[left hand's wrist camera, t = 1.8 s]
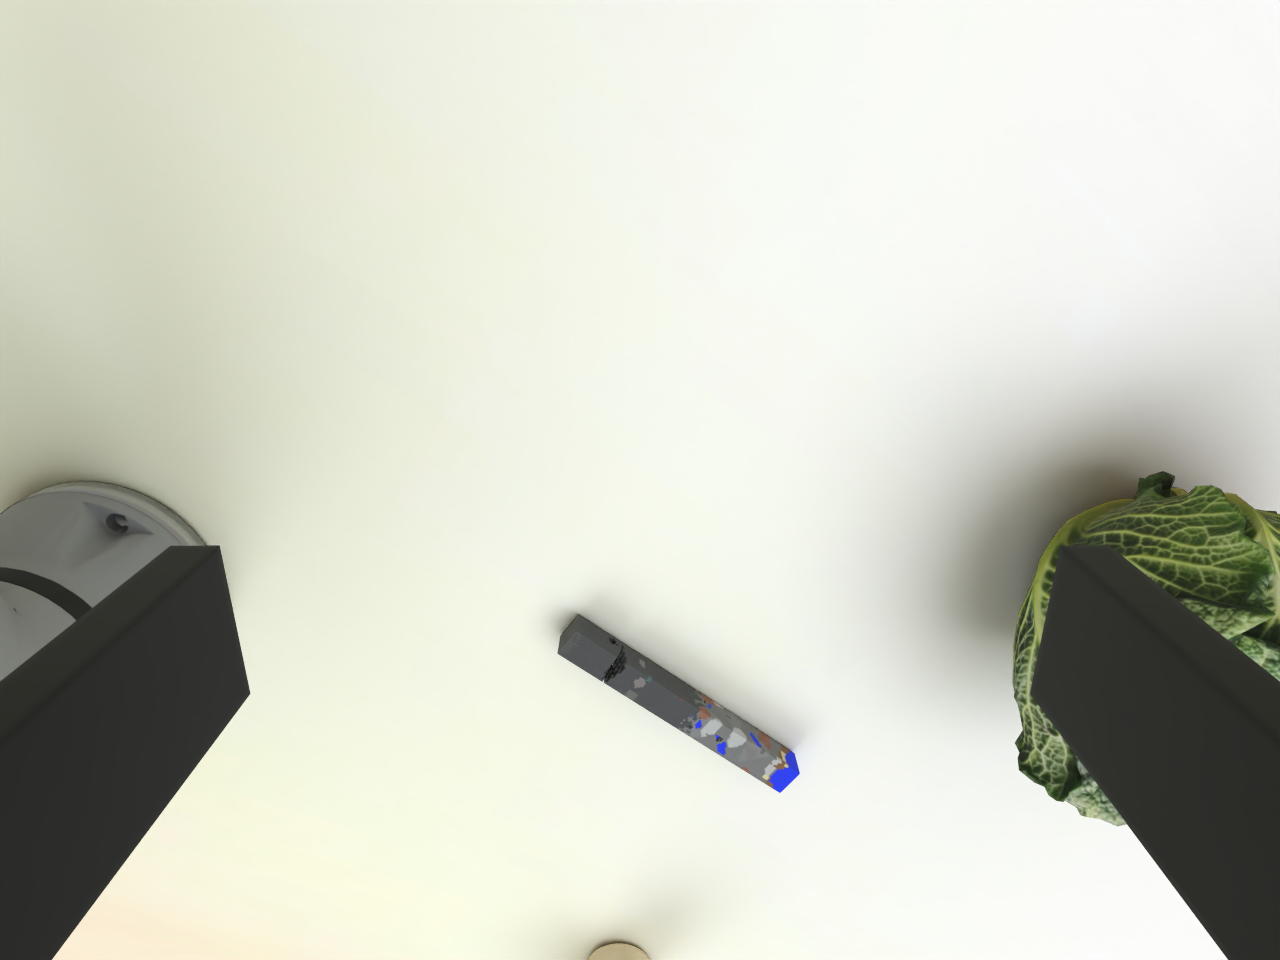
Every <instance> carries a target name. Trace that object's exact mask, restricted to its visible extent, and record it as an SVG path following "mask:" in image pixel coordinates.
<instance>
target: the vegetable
mask: <svg viewBox="0 0 1280 960" xmlns="http://www.w3.org/2000/svg"><path fill="white" fill-rule="evenodd" d="M1174 479H1175V476H1173V475H1171V474H1169V473H1166V472H1163V471H1162V472H1159V473H1156V474H1153V475H1149V476H1148V477H1147V478H1146V479H1143V478H1139V483H1138V492H1137V494H1136V496H1135V499H1119V500H1114V501H1108V502H1105V503H1103V504H1100V505H1098V506H1095V507H1093V508H1090V509H1088V510H1085V511H1083V512H1081V513H1080V514H1078V515H1076V516H1074V517H1073V518H1071V519H1069V520H1068V521H1067V522H1066V523H1065V524H1064V525H1063V526H1062V527H1061V528H1060V529H1059V531H1058V532H1057V533H1056V535H1055V536H1054V537H1053V539H1052V540H1051V541H1050V543H1049V544H1048V546H1047V548H1046V549H1045V551H1044V553H1043V555H1042V556H1041V558H1040V560H1039V564H1038V568H1037V572H1036V574H1035V577H1034V580H1033V582H1032V585H1031V586H1030V588H1029V590H1028V592H1027V596H1026V598H1025V600H1024V603H1023V605H1022V607H1021V609H1020V611H1019V614H1018V621H1017V627H1016V633H1015V639H1014V646H1013V681H1012V683H1013V687H1014V691H1015V693H1014V698H1015V700H1016V702H1017V704H1018V707H1019V712H1020V717H1021V722H1022V727H1023V731H1022V732H1021V734H1020V735H1019V737H1018V739H1017V740H1016V742H1015V744H1016V746H1017V748H1018V750H1019V752H1020V753H1019V756H1018V765H1019V770H1020V771H1021V772H1022V773H1023V774H1025V775H1026V776H1027V777H1028V778H1030V779H1031V780H1032V781H1033V782H1035V783H1037V784H1039V785H1042V786H1044V787H1045V789H1046V791H1047V793H1048V795H1049V796H1050V797H1052V798H1053V799H1055V800H1056V801H1062V802H1064V801H1067V802H1068V803H1070V804H1072V805H1073V806H1075V807H1076V808H1077V809H1078V811H1079V813H1080V815H1082V816H1085V817H1091V818H1097V819H1102V820H1104V821H1106V822H1108V823H1111V824H1113V825H1116V826H1121V825H1125V824H1127V823H1126V822H1125V821H1124V819H1123V818H1122V817H1121V815H1120V814H1119V813H1118V811H1117V810H1116V809H1115V807H1114V806H1113V805H1112V803H1111V802H1110V801H1109V799H1108V798H1107V797H1106V795H1105V794H1104V793H1103V791H1102V790H1101V789H1100V787H1099V786H1098V784H1097V783H1096V782H1095V780H1094V779H1093V778H1092V776H1091V775H1090V774H1089V772H1088V771H1087V770H1086V768H1085V767H1084V766H1083V764H1082V763H1081V762H1080V760H1079V759H1078V758H1077V756H1076V755H1075V754H1074V752H1073V751H1072V750H1071V748H1070V747H1069V746H1068V744H1067V743H1066V742H1065V740H1064V739H1063V738H1062V736H1061V735H1060V734H1059V732H1058V731H1057V730H1056V728H1055V727H1054V726H1053V724H1052V723H1051V722H1050V720H1049V719H1048V717H1047V716H1046V715H1045V713H1044V712H1043V711H1042V709H1041V708H1040V707H1039V705H1038V704H1037V703H1036V701H1035V700H1034V699H1033V697H1032V696H1031V695H1030V690H1031V685H1032V680H1033V676H1034V671H1035V666H1036V661H1037V656H1038V652H1039V647H1040V642H1041V637H1042V632H1043V627H1044V623H1045V618H1046V613H1047V608H1048V603H1049V599H1050V594H1051V589H1052V584H1053V579H1054V574H1055V570H1056V565H1057V560H1058V555H1059V550H1060V546H1111V547H1112V548H1113V549H1114V550H1116V551H1117V552H1118V553H1119V554H1121V555H1122V556H1123V557H1124V558H1126V559H1127V560H1128V561H1129V562H1131V563H1132V564H1133V565H1134V566H1136V567H1137V568H1138V569H1139V570H1141V571H1142V572H1143V573H1144V574H1146V575H1147V576H1148V577H1150V578H1151V579H1152V580H1153V581H1155V582H1156V583H1157V584H1158V585H1160V586H1161V587H1162V588H1163V589H1165V590H1166V591H1167V592H1168V593H1170V594H1171V595H1172V596H1173V597H1175V598H1176V599H1177V600H1178V601H1180V602H1181V603H1182V604H1183V605H1185V606H1186V607H1187V608H1188V609H1190V610H1191V611H1192V612H1193V613H1195V614H1196V615H1197V616H1198V617H1200V618H1201V619H1202V620H1203V621H1205V622H1206V623H1207V624H1208V625H1210V626H1211V627H1212V628H1213V629H1215V630H1216V631H1217V632H1219V633H1220V634H1221V635H1222V636H1224V637H1225V638H1226V639H1227V640H1229V641H1230V642H1231V643H1232V644H1234V645H1235V646H1236V647H1237V648H1239V649H1240V650H1241V651H1242V652H1244V653H1245V654H1246V655H1247V656H1249V657H1250V658H1251V659H1252V660H1254V661H1255V662H1256V663H1257V664H1259V665H1260V666H1261V667H1262V668H1264V669H1265V670H1266V671H1267V672H1269V673H1270V674H1271V675H1272V676H1274V677H1275V678H1276V679H1277V680H1279V681H1280V514H1277V512H1276V511H1263V510H1257V509H1254V508H1253V507H1251V506H1250V505H1249V504H1248V503H1246V502H1245V501H1244V500H1242V499H1241V498H1240V497H1238V496H1237V495H1236V494H1231V493H1223V492H1222V490H1221V489H1219V488H1216V487H1214V486H1211V485H1209V486H1195V487H1194V488H1193V489H1192V490H1191V491H1190V492H1189V493H1187V492H1186V491H1184V490H1183V489H1180V488H1176V487H1172V485H1173V482H1174Z"/></svg>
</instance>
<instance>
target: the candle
mask: <svg viewBox="0 0 1280 960" xmlns="http://www.w3.org/2000/svg"><path fill="white" fill-rule="evenodd" d="M588 960H649V958H648V956H647V955H646V954H645V953H644V952H643V951H642V950H640V949H639V948H637V947H635V946H632V945H628V944H622V943H616V944H609V945H605V946H603V947H600V948H598V949H597V950H596V951H594V952H593V953H592V954H591V956H590V957H589V959H588Z"/></svg>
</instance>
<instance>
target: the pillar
mask: <svg viewBox="0 0 1280 960" xmlns="http://www.w3.org/2000/svg"><path fill="white" fill-rule="evenodd" d="M558 654H559V655H561V656H562V657H564V658H565V659H567V660H569V661H570V662H572V663H573V664H575V665H577V666H578V667H580V668H581V669H583V670H585V671H586V672H588V673H589V674H591V675H593V676H594V677H596V678H597V679H599V680H601V681H603V680H604V683H605V684H607V685H609V686H610V687H612V688H613V689H615V690H617V691H618V692H620V693H621V694H623V695H625V696H626V697H628V698H629V699H631V700H632V701H634V702H636V703H637V704H639V705H640V706H642V707H644V708H645V709H647V710H648V711H650V712H652V713H653V714H655V715H656V716H658V717H660V718H661V719H663V720H664V721H666V722H668V723H669V724H671V725H672V726H674V727H676V728H677V729H679V730H680V731H682V732H684V733H685V734H687V735H688V736H690V737H692V738H693V739H695V740H696V741H698V742H700V743H701V744H703V745H704V746H706V747H708V748H709V749H711V750H712V751H714V752H716V753H717V754H719V755H720V756H722V757H724V758H725V759H727V760H728V761H730V762H731V763H733V764H735V765H736V766H738V767H739V768H741V769H743V770H744V771H746V772H747V773H749V774H751V775H752V776H754V777H755V778H757V779H759V780H760V781H762V782H763V783H765V784H767V785H768V786H770V787H771V788H773V789H775V790H776V791H778V792H779V793H780V792H782V791H783V790H784V789H785V788H786V787H787V786H788V785H789V784H790V783H791V782H792V781H793V780H794V779H795V778H796V777H797V776H798V775H799V774H800V773H799V769H798V765H797V761H796V758H795V754H794V753H793V752H792V751H790V750H788V749H787V748H785V747H784V746H782V745H781V744H779V743H778V742H776V741H774V740H773V739H771V738H770V737H768V736H767V735H765V734H764V733H762V732H760V731H759V730H757V729H756V728H754V727H753V726H751V725H750V724H748V723H746V722H745V721H743V720H742V719H740V718H739V717H737V716H736V715H734V714H732V713H731V712H729V711H728V710H726V709H725V708H723V707H722V706H720V705H719V704H717V703H715V702H714V701H712V700H711V699H709V698H708V697H706V696H705V695H703V694H701V693H700V692H698V691H697V690H695V689H694V688H692V687H691V686H689V685H687V684H686V683H684V682H683V681H681V680H680V679H678V678H677V677H675V676H673V675H672V674H670V673H669V672H667V671H666V670H664V669H663V668H661V667H659V666H658V665H656V664H655V663H653V662H652V661H650V660H649V659H647V658H645V657H644V656H642V655H641V654H639V653H638V652H636V651H635V650H633V649H631V648H630V647H628V646H627V645H625V644H624V643H622V642H621V641H619V640H617V639H616V638H614V637H613V636H611V635H610V634H608V633H607V632H605V631H603V630H602V629H600V628H599V627H597V626H596V625H594V624H593V623H591V622H589V621H588V620H586V619H585V618H583V617H582V616H580V615H579V614H578V616H577V617H576V618H575V619H574V620H573V622H572V623H571V624H570V625H569V626H568V628H567V629H566V630H565V631H564V633H563V634H562V635H561V636H560V642H559V648H558ZM613 662H614V665H613V666H612V663H613Z"/></svg>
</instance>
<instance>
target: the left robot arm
mask: <svg viewBox="0 0 1280 960" xmlns="http://www.w3.org/2000/svg"><path fill="white" fill-rule="evenodd" d="M249 695H250V690H249V685H248V680H247V676H246V671H245V666H244V661H243V656H242V652H241V647H240V642H239V637H238V632H237V627H236V623H235V618H234V613H233V608H232V603H231V599H230V594H229V589H228V584H227V579H226V574H225V570H224V565H223V560H222V555H221V550H220V546H206V545H205V544H204V543H203V541H202V540H201V539H200V537H199V536H198V535H197V534H196V533H195V532H194V530H193V529H192V528H191V527H190V526H189V525H188V524H187V523H186V522H184V521H183V520H182V519H181V518H180V517H179V516H177V515H176V514H175V513H173V512H172V511H171V510H169V509H168V508H166V507H165V506H163V505H162V504H160V503H158V502H157V501H155V500H153V499H151V498H149V497H147V496H145V495H143V494H140V493H138V492H135V491H133V490H130V489H127V488H124V487H120V486H116V485H112V484H106V483H100V482H87V481H85V482H69V483H62V484H58V485H53V486H50V487H47V488H44V489H42V490H40V491H38V492H36V493H34V494H32V495H30V496H28V497H26V498H24V499H22V500H20V501H18V502H17V503H15V504H13V505H12V506H10V507H9V508H7V509H6V510H5V511H3V512H2V513H1V514H0V960H52V959H53V957H54V956H55V955H56V953H57V952H58V951H59V949H60V948H61V947H62V945H63V944H64V943H65V941H66V940H67V939H68V937H69V936H70V935H71V933H72V932H73V931H74V929H75V928H76V927H77V925H78V924H79V923H80V921H81V920H82V918H83V917H84V916H85V914H86V913H87V912H88V910H89V909H90V908H91V906H92V905H93V904H94V902H95V901H96V900H97V898H98V897H99V896H100V894H101V893H102V892H103V890H104V889H105V888H106V886H107V885H108V884H109V882H110V881H111V880H112V878H113V877H114V876H115V874H116V873H117V872H118V870H119V869H120V868H121V866H122V865H123V864H124V862H125V861H126V860H127V858H128V857H129V856H130V854H131V853H132V851H133V850H134V849H135V847H136V846H137V845H138V843H139V842H140V841H141V839H142V838H143V837H144V835H145V834H146V833H147V831H148V830H149V829H150V827H151V826H152V825H153V823H154V822H155V821H156V819H157V818H158V817H159V815H160V814H161V813H162V811H163V810H164V809H165V807H166V806H167V805H168V803H169V802H170V801H171V799H172V798H173V797H174V795H175V794H176V793H177V791H178V790H179V789H180V787H181V786H182V784H183V783H184V782H185V780H186V779H187V778H188V776H189V775H190V774H191V772H192V771H193V770H194V768H195V767H196V766H197V764H198V763H199V762H200V760H201V759H202V758H203V756H204V755H205V754H206V752H207V751H208V750H209V748H210V747H211V746H212V744H213V743H214V742H215V740H216V739H217V738H218V736H219V735H220V734H221V732H222V731H223V730H224V728H225V727H226V726H227V724H228V723H229V722H230V720H231V719H232V717H233V716H234V715H235V713H236V712H237V711H238V709H239V708H240V707H241V705H242V704H243V703H244V701H245V700H246V699H247V697H248V696H249ZM1030 695H1031V696H1032V697H1033V699H1034V700H1035V701H1036V703H1037V704H1038V705H1039V707H1040V708H1041V709H1042V711H1043V712H1044V713H1045V715H1046V716H1047V717H1048V719H1049V720H1050V722H1051V723H1052V724H1053V726H1054V727H1055V728H1056V730H1057V731H1058V732H1059V734H1060V735H1061V736H1062V738H1063V739H1064V740H1065V742H1066V743H1067V744H1068V746H1069V747H1070V748H1071V750H1072V751H1073V752H1074V754H1075V755H1076V756H1077V758H1078V759H1079V760H1080V762H1081V763H1082V764H1083V766H1084V767H1085V768H1086V770H1087V771H1088V772H1089V774H1090V775H1091V776H1092V778H1093V779H1094V780H1095V782H1096V783H1097V784H1098V786H1099V787H1100V789H1101V790H1102V791H1103V793H1104V794H1105V795H1106V797H1107V798H1108V799H1109V801H1110V802H1111V803H1112V805H1113V806H1114V807H1115V809H1116V810H1117V811H1118V813H1119V814H1120V815H1121V817H1122V818H1123V819H1124V821H1125V822H1126V823H1127V825H1128V826H1129V827H1130V829H1131V830H1132V831H1133V833H1134V834H1135V835H1136V837H1137V838H1138V839H1139V841H1140V842H1141V843H1142V845H1143V846H1144V847H1145V849H1146V850H1147V851H1148V853H1149V854H1150V856H1151V857H1152V858H1153V860H1154V861H1155V862H1156V864H1157V865H1158V866H1159V868H1160V869H1161V870H1162V872H1163V873H1164V874H1165V876H1166V877H1167V878H1168V880H1169V881H1170V882H1171V884H1172V885H1173V886H1174V888H1175V889H1176V890H1177V892H1178V893H1179V894H1180V896H1181V897H1182V898H1183V900H1184V901H1185V902H1186V904H1187V905H1188V906H1189V908H1190V909H1191V910H1192V912H1193V913H1194V914H1195V916H1196V917H1197V919H1198V920H1199V921H1200V923H1201V924H1202V925H1203V927H1204V928H1205V929H1206V931H1207V932H1208V933H1209V935H1210V936H1211V937H1212V939H1213V940H1214V941H1215V943H1216V944H1217V945H1218V947H1219V948H1220V949H1221V951H1222V952H1223V953H1224V955H1225V956H1226V957H1227V959H1228V960H1280V681H1279V680H1277V679H1276V678H1275V677H1274V676H1272V675H1271V674H1270V673H1269V672H1267V671H1266V670H1265V669H1264V668H1262V667H1261V666H1260V665H1259V664H1257V663H1256V662H1255V661H1254V660H1252V659H1251V658H1250V657H1249V656H1247V655H1246V654H1245V653H1244V652H1242V651H1241V650H1240V649H1239V648H1237V647H1236V646H1235V645H1234V644H1232V643H1231V642H1230V641H1229V640H1227V639H1226V638H1225V637H1224V636H1222V635H1221V634H1220V633H1219V632H1217V631H1216V630H1215V629H1213V628H1212V627H1211V626H1210V625H1208V624H1207V623H1206V622H1205V621H1203V620H1202V619H1201V618H1200V617H1198V616H1197V615H1196V614H1195V613H1193V612H1192V611H1191V610H1190V609H1188V608H1187V607H1186V606H1185V605H1183V604H1182V603H1181V602H1180V601H1178V600H1177V599H1176V598H1175V597H1173V596H1172V595H1171V594H1170V593H1168V592H1167V591H1166V590H1165V589H1163V588H1162V587H1161V586H1160V585H1158V584H1157V583H1156V582H1155V581H1153V580H1152V579H1151V578H1150V577H1148V576H1147V575H1146V574H1144V573H1143V572H1142V571H1141V570H1139V569H1138V568H1137V567H1136V566H1134V565H1133V564H1132V563H1131V562H1129V561H1128V560H1127V559H1126V558H1124V557H1123V556H1122V555H1121V554H1119V553H1118V552H1117V551H1116V550H1114V549H1113V548H1112V547H1111V546H1060V550H1059V555H1058V560H1057V565H1056V570H1055V574H1054V579H1053V584H1052V589H1051V594H1050V599H1049V603H1048V608H1047V613H1046V618H1045V623H1044V627H1043V632H1042V637H1041V642H1040V647H1039V652H1038V656H1037V661H1036V666H1035V671H1034V676H1033V680H1032V685H1031V690H1030Z"/></svg>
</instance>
